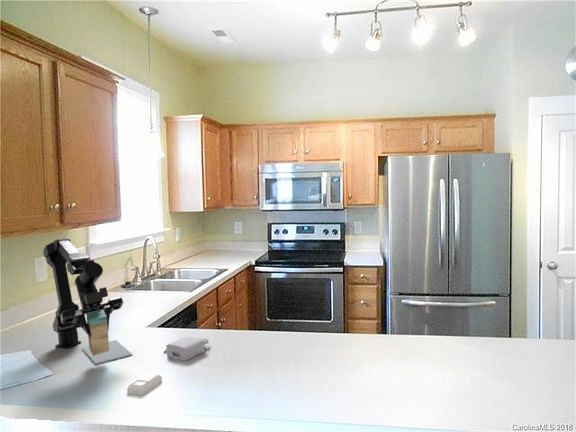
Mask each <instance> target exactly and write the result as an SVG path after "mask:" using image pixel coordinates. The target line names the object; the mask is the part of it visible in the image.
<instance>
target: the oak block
mask: <svg viewBox="0 0 576 432" xmlns="http://www.w3.org/2000/svg"><path fill="white" fill-rule="evenodd" d="M86 322H87V324H88V327H89V330H90V333H91V337H89V336H88V335H87V337H88V346H89V349H90V351H91V353H92V355H93V356H95V355H98V354H101V353H105V352H108V351H109V342H110V341H109V330H108V325H107V315H106V314H105V312H104V311H103V310H100V311H95V312H91V313H87V314H86Z"/></svg>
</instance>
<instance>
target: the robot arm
mask: <svg viewBox="0 0 576 432" xmlns="http://www.w3.org/2000/svg"><path fill="white" fill-rule="evenodd" d="M42 252H43V258H45V261H46V263H47V264H48V265H49V267H51V268H52V273H53V278H54V284H55V290H56V296H57V301H58V302H57V303H58V307H57V309H56V311H55V318H54V320H53V323H52V330H53V331H54V332H55V333H57V335H58V344H55V348H64V349H69V348H72V347H75V346H76V345H79V344H81V343H82V341H80V340H79V333H78V328H81V329H82V330H83V331H84V333H86V335H87V337H88V336H89V337H91V333H90V330H89V327H88V324H87V318H86V315H87V313H91V312H95V311H100V310H103V311H104V312H105V314H106V315H107V325H108V331H109V327H110V316H111V314H112V313H114V311H117V310H120V309H121V308H122V307H123V304H124V300H123V298H122V297H121V296H115V297H112V298H109V299H108V301H107V302H105V303H103V298H106V297H108V296H109V293H108V290H107V287H100V288H99V290H98V289H97V286H96V283H97V282H98V280H99V279H100V277H101V276H102V274H103V272H104V270H103V266H102V265H101V264H100V263H98V262H96V261H95V260H94V259H92V258H91V257H90V256H89V255H88V254H85V253H81V252H80V251H79V250H78V249H77V248H76V246H74V245H73V243H72V241H71V239H70V238H57V239H55V240H53V241H52V242H51V243H48V244H46V245H45V246H44V248H43V251H42ZM68 273H69V274H70V275H71V276H74V275H77V276H76V278H75V279H74V285H75V286H76V287H75V288H76V291H77V294H78V297H79V301H80V305H81V309H80V307H79V305H78V304H77V303H75V302H74V301H73V297H72V291H71V286H70V281H69V275H68Z"/></svg>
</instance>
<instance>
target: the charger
mask: <svg viewBox="0 0 576 432" xmlns="http://www.w3.org/2000/svg"><path fill="white" fill-rule="evenodd" d="M181 338H182V339H181ZM181 338H179V339H180V340H179V339H177V340H176V341H173V342H170V343H168V344H167V345H166V349H167V354H166V356H167V357H168V358H170V357H171V359H174V358H176V359H175V360H179V359H180V360H179V361H183V360H184V361H183V362H186V361H188V360H189V359H192V358H195V357H196V356H199V355H200V354H202V353H204V352H205V345H207V344H208V343H209V340H210V339H209V338H205V337H201V336H200V337H197V338H196V337H192V336H185V338H183V337H181ZM166 349H165V350H166Z"/></svg>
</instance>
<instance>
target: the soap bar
mask: <svg viewBox="0 0 576 432" xmlns="http://www.w3.org/2000/svg"><path fill="white" fill-rule="evenodd" d="M162 379H163V378H162V375H159V374H156V373H155V374H154V373H146V374H144V375H143V376H141V377H139V378H138V379H136V380H135V381H133V382H132V383H130V384H129V385H128V386H127V388H126V392H127V394H130V395H131V394H132V395H137V396H138V395H140V396H143V395H145V394H146V393H147V392H149V391H150V390H151V389H153V388H155V387H156V386H157V385H159V384H160V383H162V382H163V380H162Z"/></svg>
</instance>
